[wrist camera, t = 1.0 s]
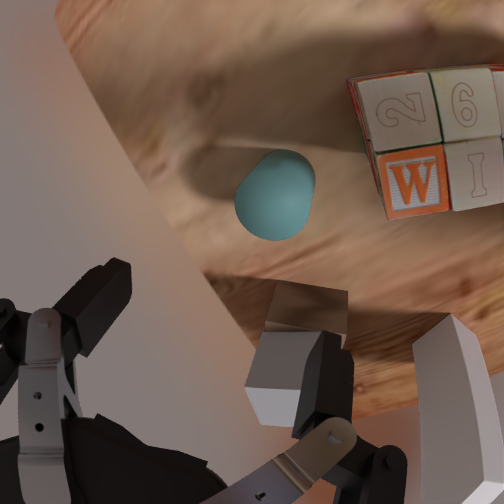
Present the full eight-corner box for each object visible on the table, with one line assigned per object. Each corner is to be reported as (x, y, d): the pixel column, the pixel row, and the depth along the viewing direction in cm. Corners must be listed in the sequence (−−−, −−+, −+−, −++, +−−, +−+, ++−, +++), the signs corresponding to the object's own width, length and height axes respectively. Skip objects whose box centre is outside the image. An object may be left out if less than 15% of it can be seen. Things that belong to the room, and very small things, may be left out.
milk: (439, 362, 32) (450, 535, 14) (410, 342, 31) (415, 538, 13) (477, 334, 29) (509, 516, 10) (451, 311, 28) (484, 519, 10)
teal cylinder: (322, 160, 24) (318, 184, 19) (305, 213, 27) (297, 249, 22) (262, 142, 24) (242, 161, 20) (250, 196, 27) (228, 228, 22)
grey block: (331, 331, 25) (324, 390, 20) (335, 374, 28) (328, 428, 23) (262, 332, 27) (244, 387, 22) (274, 373, 30) (260, 424, 25)
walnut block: (347, 290, 30) (347, 334, 25) (334, 339, 34) (330, 381, 29) (277, 279, 31) (265, 320, 26) (272, 328, 35) (260, 369, 30)
